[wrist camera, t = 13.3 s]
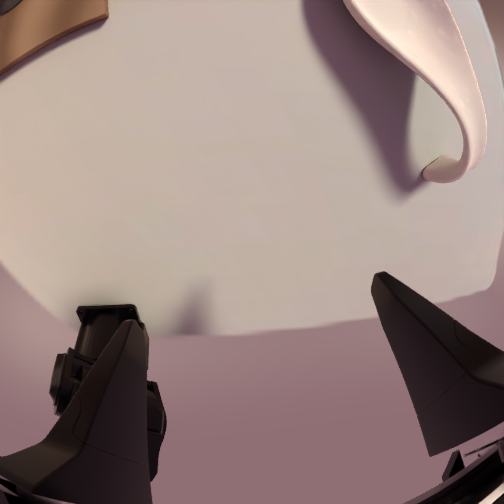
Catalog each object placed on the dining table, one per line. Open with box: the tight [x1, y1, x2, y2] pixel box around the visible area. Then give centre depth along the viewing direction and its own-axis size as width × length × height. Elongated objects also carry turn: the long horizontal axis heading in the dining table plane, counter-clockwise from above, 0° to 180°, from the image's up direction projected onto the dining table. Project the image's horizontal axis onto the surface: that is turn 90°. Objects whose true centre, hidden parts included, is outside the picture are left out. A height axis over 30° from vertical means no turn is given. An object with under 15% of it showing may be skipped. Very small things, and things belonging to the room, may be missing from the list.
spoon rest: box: [343, 0, 487, 183], centre depth 13 cm, size 24×12×7 cm, turn 31°
